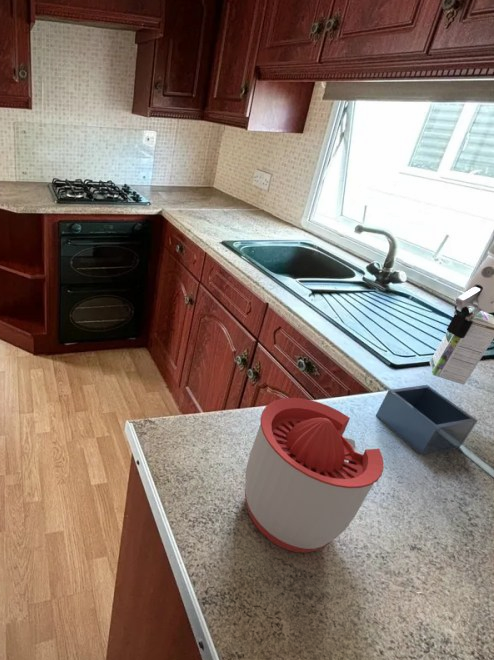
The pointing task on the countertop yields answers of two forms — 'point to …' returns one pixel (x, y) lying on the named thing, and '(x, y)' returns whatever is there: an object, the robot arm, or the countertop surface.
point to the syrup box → (463, 350)
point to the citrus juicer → (306, 474)
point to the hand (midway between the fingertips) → (470, 332)
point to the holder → (425, 419)
